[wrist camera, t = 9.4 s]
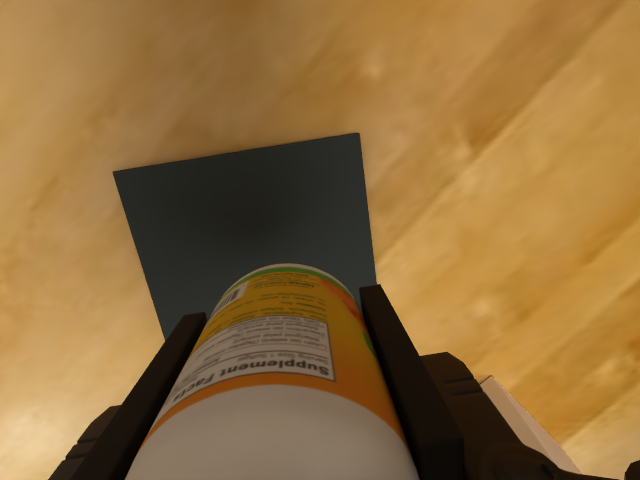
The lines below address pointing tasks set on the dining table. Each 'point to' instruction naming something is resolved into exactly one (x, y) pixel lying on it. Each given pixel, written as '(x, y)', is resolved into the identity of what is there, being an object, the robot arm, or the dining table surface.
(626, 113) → the dining table surface
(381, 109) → the dining table surface
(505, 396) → the milk
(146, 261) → the mat
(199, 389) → the supplement bottle
